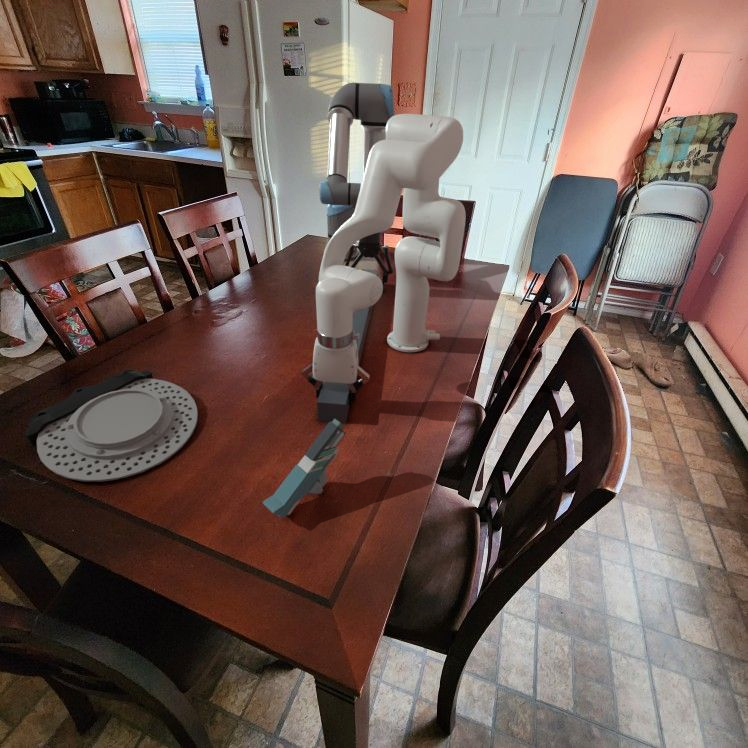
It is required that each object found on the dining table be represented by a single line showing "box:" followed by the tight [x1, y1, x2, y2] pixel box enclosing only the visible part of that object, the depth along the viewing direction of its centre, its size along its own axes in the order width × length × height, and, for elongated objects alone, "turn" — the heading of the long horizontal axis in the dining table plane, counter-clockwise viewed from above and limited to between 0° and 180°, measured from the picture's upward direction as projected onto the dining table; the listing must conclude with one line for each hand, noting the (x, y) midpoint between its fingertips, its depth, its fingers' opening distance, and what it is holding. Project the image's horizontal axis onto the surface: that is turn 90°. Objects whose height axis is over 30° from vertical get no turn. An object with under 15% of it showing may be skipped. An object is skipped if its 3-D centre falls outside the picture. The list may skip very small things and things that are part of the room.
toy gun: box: [262, 419, 346, 520], centre depth 76 cm, size 4×19×10 cm
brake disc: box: [23, 369, 199, 483], centre depth 89 cm, size 32×30×5 cm
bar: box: [316, 268, 379, 424], centre depth 127 cm, size 83×6×6 cm, turn 175°
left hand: (367, 289), depth 157 cm, fingers open, 11 cm apart
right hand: (336, 400), depth 99 cm, fingers closed on bar, 6 cm apart
